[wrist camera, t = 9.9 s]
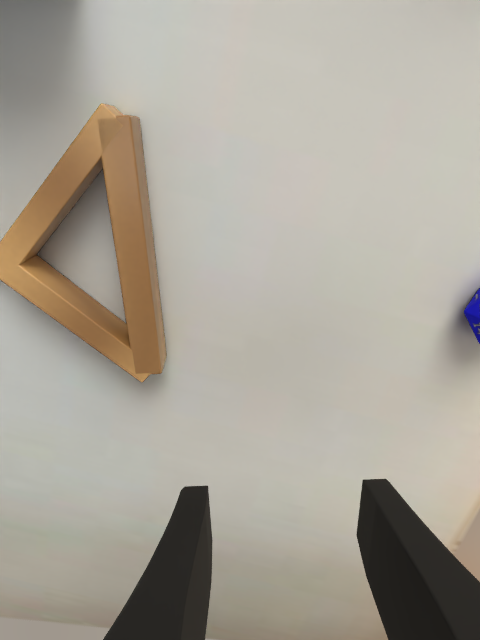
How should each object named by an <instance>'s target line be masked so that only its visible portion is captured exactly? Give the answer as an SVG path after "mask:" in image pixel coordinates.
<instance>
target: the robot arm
mask: <svg viewBox="0 0 480 640" xmlns="http://www.w3.org/2000/svg"><path fill="white" fill-rule="evenodd" d="M357 539H358V543H359V547H360V552H361V556H362V560H363V564H364V568H365V572H366V576H367V579H368V582H369V585H370V588H371V591H372V594H373V597H374V600H375V603H376V605H377V608H378V611H379V614H380V617H381V620H382V623H383V625H384V628H385V631H386V634H387V637H388V640H480V582H479V581H478V580H477V579H476V578H475V577H474V576H473V575H472V574H471V573H470V572H469V571H468V570H467V569H466V568H465V567H464V566H463V565H462V564H461V563H460V562H459V561H458V560H457V559H456V558H455V556H454V555H453V554H452V553H451V552H450V551H449V550H448V549H447V548H446V547H445V546H444V545H443V544H442V542H441V541H440V540H439V539H438V538H437V537H436V536H435V535H434V534H433V533H432V532H431V530H430V529H429V528H428V527H427V526H426V525H425V524H424V523H423V521H422V520H421V519H420V518H419V517H418V516H417V514H416V513H415V512H414V511H413V510H412V509H411V508H410V506H409V505H408V504H407V503H406V502H405V500H404V499H403V498H402V497H401V496H400V494H399V493H398V492H397V491H396V490H395V488H394V487H393V486H392V485H391V484H390V482H389V481H388V480H386V479H371V480H363V483H362V492H361V501H360V510H359V518H358V527H357ZM211 574H212V531H211V519H210V507H209V494H208V486H189V487H184V488H183V489H182V490H181V492H180V495H179V498H178V501H177V503H176V506H175V509H174V511H173V514H172V516H171V518H170V521H169V523H168V525H167V527H166V530H165V532H164V534H163V536H162V538H161V540H160V542H159V544H158V546H157V548H156V550H155V552H154V554H153V556H152V558H151V560H150V562H149V564H148V566H147V568H146V570H145V571H144V573H143V575H142V577H141V578H140V580H139V582H138V584H137V586H136V587H135V589H134V591H133V593H132V594H131V596H130V598H129V600H128V601H127V603H126V604H125V606H124V608H123V609H122V611H121V613H120V614H119V616H118V617H117V619H116V621H115V622H114V624H113V625H112V627H111V628H110V630H109V631H108V633H107V634H106V636H105V637H104V639H103V640H205V634H206V625H207V616H208V608H209V599H210V590H211Z"/></svg>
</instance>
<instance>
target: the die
mask: <svg viewBox="0 0 480 640" xmlns="http://www.w3.org/2000/svg"><path fill="white" fill-rule="evenodd" d="M464 314H465V316H466V318H467V320H468V322H469V324H470V326H471V328H472V330H473V332H474V334H475V336H476V338H477V340H478V342H479V344H480V288H479V290H478V291H477V292H476V294H475V295H474V297H473V298H472V300H471V301H470V303H469V304H468V305H467V307H466V308H465V310H464Z"/></svg>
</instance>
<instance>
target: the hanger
mask: <svg viewBox="0 0 480 640" xmlns="http://www.w3.org/2000/svg"><path fill="white" fill-rule="evenodd" d="M102 169H103V172H104V179H105V185H106V192H107V198H108V205H109V212H110V218H111V225H112V231H113V238H114V244H115V251H116V258H117V264H118V271H119V277H120V284H121V290H122V297H123V304H124V310H125V317H126V323H127V324H126V323H124V322H123V321H122V320H121V319H119V318H118V317H117V316H115V315H114V314H113V313H111V312H110V311H109V310H108V309H106V308H105V307H104V306H102V305H101V304H100V303H98V302H97V301H96V300H94V299H93V298H92V297H91V296H89V295H88V294H87V293H85V292H84V291H83V290H81V289H80V288H79V287H78V286H76V285H75V284H74V283H72V282H71V281H70V280H68V279H67V278H66V277H64V276H63V275H62V274H61V273H59V272H58V271H57V270H55V269H54V268H53V267H51V266H50V265H49V264H48V263H46V262H45V261H44V260H42V259H41V258H40V257H38V256H37V255H36V254H37V253H38V252H39V251H40V249H41V248H42V247H43V245H44V244H45V243H46V241H47V240H48V239H49V238H50V236H51V235H52V234H53V232H54V231H55V230H56V228H57V227H58V226H59V224H60V223H61V222H62V221H63V219H64V218H65V217H66V215H67V214H68V213H69V211H70V210H71V209H72V208H73V206H74V205H75V204H76V202H77V201H78V200H79V198H80V197H81V196H82V195H83V193H84V192H85V191H86V189H87V188H88V187H89V185H90V184H91V183H92V182H93V180H94V179H95V178H96V176H97V175H98V174H99V172H100V171H101V170H102ZM0 280H1V281H3V282H4V283H5V284H7V285H8V286H10V287H11V288H12V289H14V290H15V291H16V292H18V293H19V294H21V295H22V296H23V297H25V298H26V299H27V300H29V301H30V302H32V303H33V304H34V305H36V306H37V307H38V308H40V309H41V310H43V311H44V312H45V313H47V314H48V315H49V316H51V317H52V318H54V319H55V320H56V321H58V322H59V323H60V324H62V325H63V326H65V327H66V328H67V329H69V330H70V331H71V332H73V333H74V334H76V335H77V336H78V337H80V338H81V339H82V340H84V341H85V342H87V343H88V344H89V345H91V346H92V347H93V348H95V349H96V350H98V351H99V352H100V353H102V354H103V355H104V356H106V357H107V358H109V359H110V360H111V361H113V362H114V363H115V364H117V365H118V366H120V367H121V368H122V369H124V370H125V371H126V372H128V373H129V374H131V375H132V376H133V377H135V378H136V379H137V380H139V381H140V382H143V381H144V380H145V379H146V378H147V377H148V376H149V375H150V374H161V373H162V370H163V367H164V363H165V360H166V356H167V354H166V346H165V337H164V328H163V319H162V311H161V302H160V293H159V284H158V276H157V267H156V258H155V249H154V241H153V232H152V223H151V214H150V206H149V197H148V188H147V179H146V171H145V162H144V153H143V144H142V136H141V127H140V119H139V117H136V116H131V115H123V114H122V113H121V112H120V111H119V110H117V109H116V108H115V107H114V106H111V105H107V104H103V103H101V104H100V105H99V107H98V108H97V109H96V111H95V112H94V113H93V115H92V116H91V118H90V119H89V120H88V122H87V123H86V124H85V126H84V127H83V129H82V130H81V131H80V133H79V134H78V136H77V137H76V138H75V140H74V141H73V142H72V144H71V145H70V147H69V148H68V149H67V151H66V152H65V153H64V155H63V156H62V158H61V159H60V160H59V162H58V163H57V164H56V166H55V167H54V169H53V170H52V171H51V173H50V174H49V175H48V177H47V178H46V180H45V181H44V182H43V184H42V185H41V186H40V188H39V189H38V191H37V192H36V193H35V195H34V196H33V197H32V199H31V200H30V202H29V203H28V204H27V206H26V207H25V209H24V210H23V211H22V213H21V214H20V215H19V217H18V218H17V220H16V221H15V222H14V224H13V225H12V226H11V228H10V229H9V231H8V232H7V233H6V235H5V236H4V237H3V239H2V240H1V242H0Z"/></svg>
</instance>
